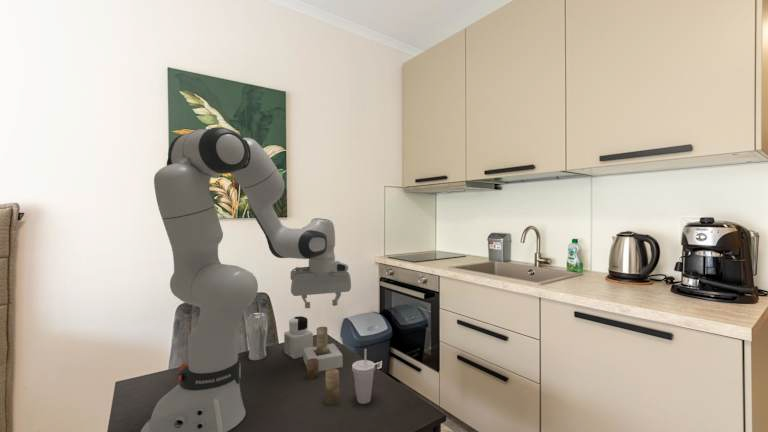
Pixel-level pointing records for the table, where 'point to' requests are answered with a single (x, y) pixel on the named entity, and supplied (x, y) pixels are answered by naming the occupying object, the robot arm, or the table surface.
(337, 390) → the oak pin
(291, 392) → the table surface
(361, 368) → the smoothie
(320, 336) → the maple pin
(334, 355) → the socket block
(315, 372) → the walnut pin
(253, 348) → the beer glass
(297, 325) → the container
